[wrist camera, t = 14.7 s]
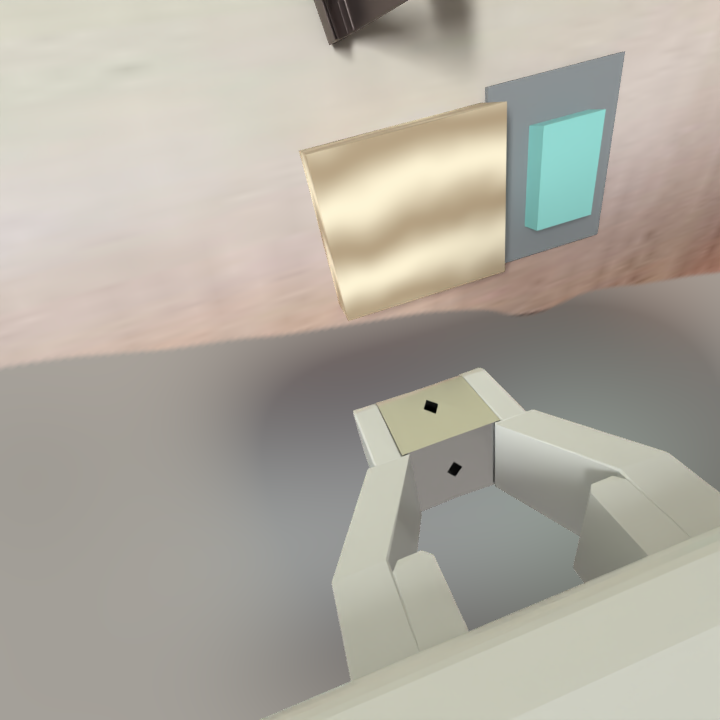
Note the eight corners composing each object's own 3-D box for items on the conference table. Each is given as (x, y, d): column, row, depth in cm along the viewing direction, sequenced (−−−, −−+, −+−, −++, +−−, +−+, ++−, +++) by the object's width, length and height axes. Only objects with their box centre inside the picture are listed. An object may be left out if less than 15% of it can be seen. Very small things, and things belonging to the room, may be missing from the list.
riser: (299, 150, 31) (306, 154, 28) (480, 103, 33) (507, 101, 29) (339, 304, 39) (348, 320, 36) (483, 259, 41) (504, 271, 37)
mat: (485, 87, 32) (487, 87, 32) (621, 52, 33) (625, 51, 33) (487, 266, 41) (489, 267, 41) (594, 233, 43) (597, 234, 42)
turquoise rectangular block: (605, 109, 33) (588, 109, 35) (543, 125, 33) (529, 125, 34) (590, 214, 38) (576, 210, 40) (537, 230, 38) (524, 226, 39)
